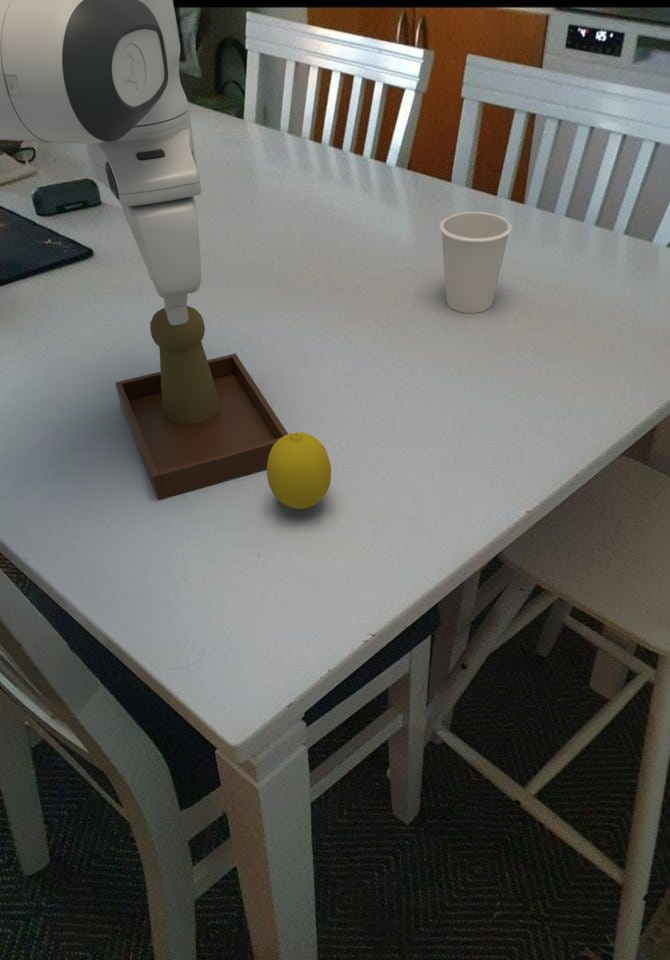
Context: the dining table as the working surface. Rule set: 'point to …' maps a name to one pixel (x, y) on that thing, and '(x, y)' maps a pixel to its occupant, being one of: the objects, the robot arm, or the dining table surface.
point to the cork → (184, 369)
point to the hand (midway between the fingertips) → (168, 298)
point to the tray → (201, 431)
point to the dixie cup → (473, 258)
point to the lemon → (298, 470)
